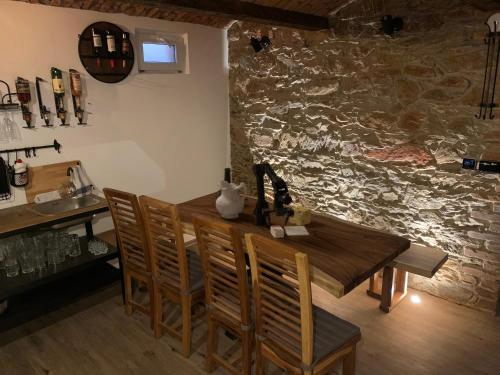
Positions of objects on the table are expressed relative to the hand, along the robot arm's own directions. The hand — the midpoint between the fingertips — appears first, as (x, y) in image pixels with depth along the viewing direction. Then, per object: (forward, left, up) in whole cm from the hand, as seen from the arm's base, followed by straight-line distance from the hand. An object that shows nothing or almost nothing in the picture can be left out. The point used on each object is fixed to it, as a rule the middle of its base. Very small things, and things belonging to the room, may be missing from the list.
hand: (277, 225), depth 236 cm
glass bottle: (-28, +62, -6) cm, 68 cm away
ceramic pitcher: (-26, +36, -6) cm, 45 cm away
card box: (0, 0, -6) cm, 6 cm away
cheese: (+18, +20, -6) cm, 28 cm away
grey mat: (+13, +5, -6) cm, 15 cm away
